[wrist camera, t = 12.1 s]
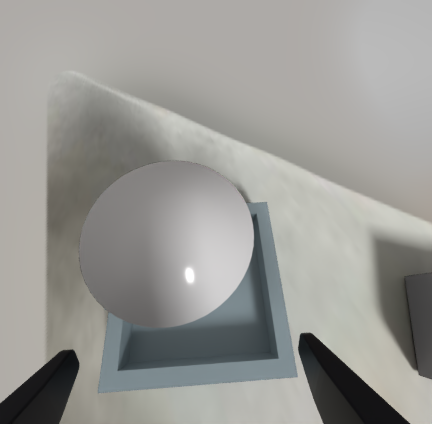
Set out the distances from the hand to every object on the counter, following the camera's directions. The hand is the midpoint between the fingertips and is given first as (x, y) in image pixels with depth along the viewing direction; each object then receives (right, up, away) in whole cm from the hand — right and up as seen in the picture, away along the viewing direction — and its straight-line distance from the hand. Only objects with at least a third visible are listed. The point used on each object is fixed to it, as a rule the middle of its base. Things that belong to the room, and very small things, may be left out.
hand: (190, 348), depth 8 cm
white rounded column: (0, 0, +8) cm, 8 cm away
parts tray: (0, -1, +9) cm, 9 cm away
